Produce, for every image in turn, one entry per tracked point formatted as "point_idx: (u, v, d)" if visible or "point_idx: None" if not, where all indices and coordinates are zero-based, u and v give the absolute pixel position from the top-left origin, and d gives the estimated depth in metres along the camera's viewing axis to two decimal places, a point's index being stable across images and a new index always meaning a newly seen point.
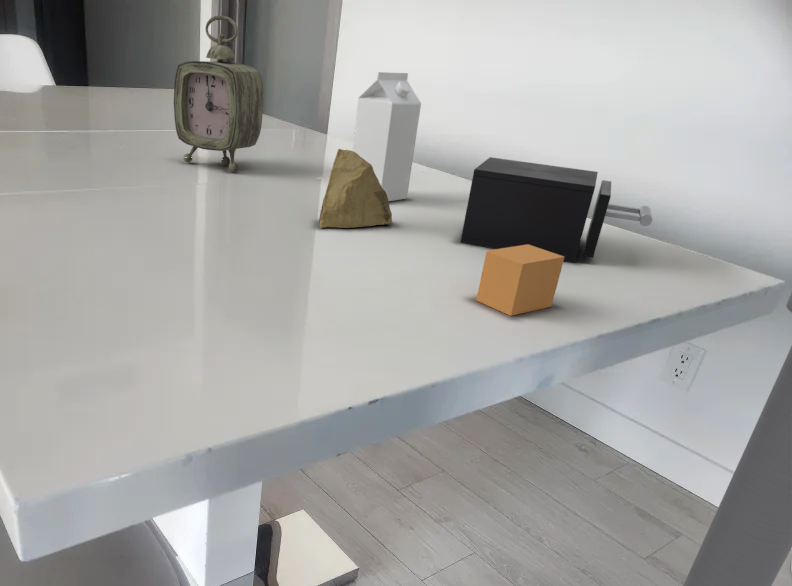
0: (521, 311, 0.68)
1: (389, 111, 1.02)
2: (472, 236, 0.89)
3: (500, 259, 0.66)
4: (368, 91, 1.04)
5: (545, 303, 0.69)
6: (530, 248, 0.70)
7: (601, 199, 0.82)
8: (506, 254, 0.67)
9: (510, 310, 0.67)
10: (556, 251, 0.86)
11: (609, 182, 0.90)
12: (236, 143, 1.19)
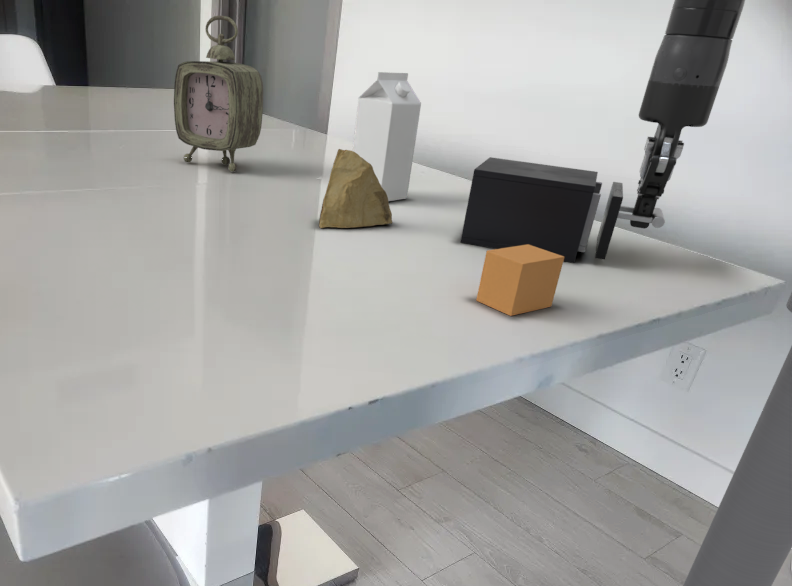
0: (521, 311, 0.68)
1: (389, 111, 1.02)
2: (472, 236, 0.89)
3: (500, 259, 0.66)
4: (368, 91, 1.04)
5: (545, 303, 0.69)
6: (530, 248, 0.70)
7: (613, 201, 0.82)
8: (506, 254, 0.67)
9: (510, 310, 0.67)
10: (556, 251, 0.86)
11: (620, 184, 0.90)
12: (236, 143, 1.19)
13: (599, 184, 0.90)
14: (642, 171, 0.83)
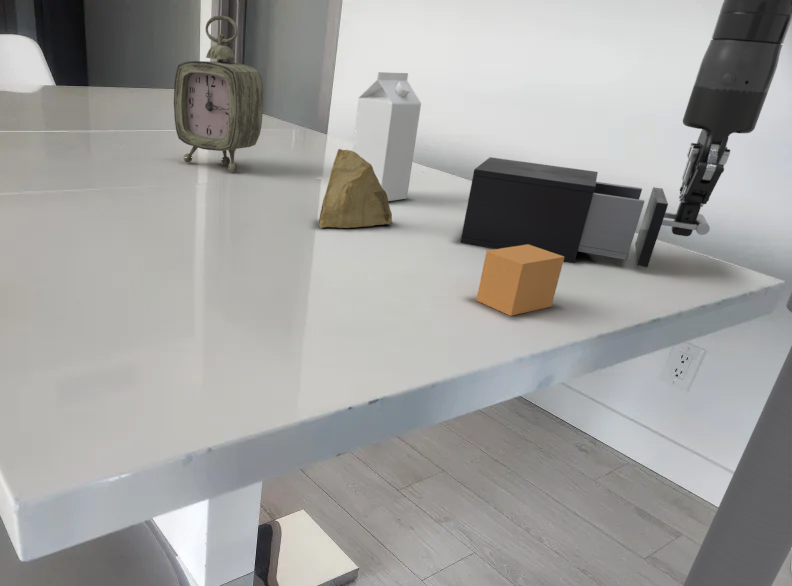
0: (521, 311, 0.68)
1: (389, 111, 1.02)
2: (472, 236, 0.89)
3: (500, 259, 0.66)
4: (368, 91, 1.04)
5: (545, 303, 0.69)
6: (530, 248, 0.70)
7: (658, 208, 0.80)
8: (506, 254, 0.67)
9: (510, 310, 0.67)
10: (556, 251, 0.86)
11: (661, 189, 0.88)
12: (236, 143, 1.19)
13: (639, 190, 0.89)
14: (686, 178, 0.81)
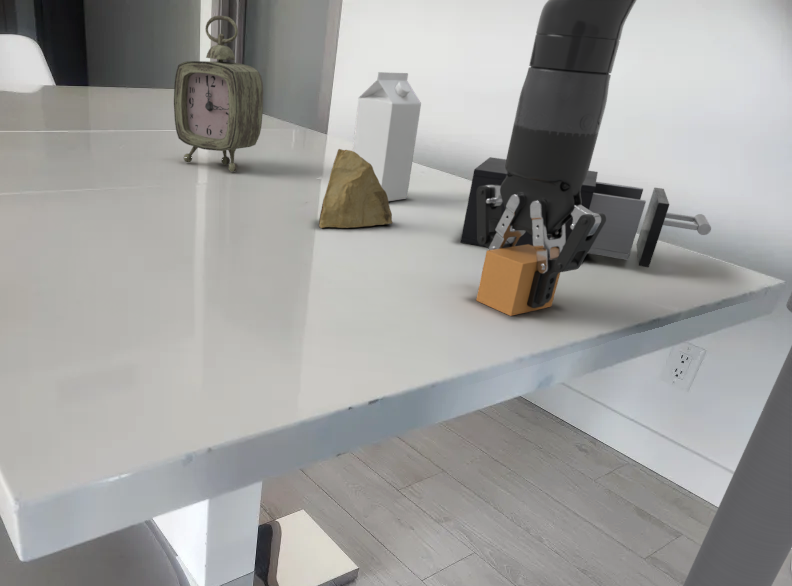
0: (521, 311, 0.68)
1: (389, 111, 1.02)
2: (472, 236, 0.89)
3: (500, 259, 0.66)
4: (368, 91, 1.04)
5: (545, 303, 0.69)
6: (530, 248, 0.70)
7: (659, 208, 0.80)
8: (506, 254, 0.67)
9: (510, 310, 0.67)
10: None
11: (662, 189, 0.88)
12: (236, 143, 1.19)
13: (640, 190, 0.89)
14: (544, 240, 0.64)
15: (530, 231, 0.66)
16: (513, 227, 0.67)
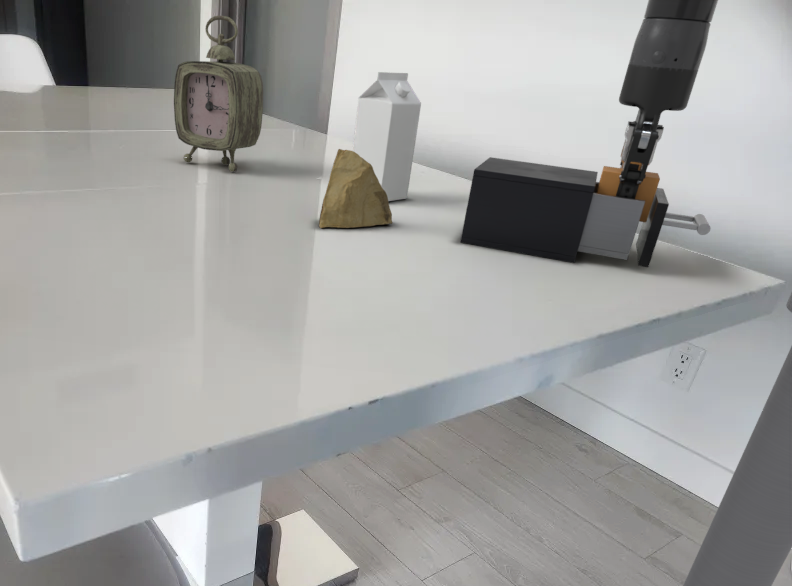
0: None
1: (389, 111, 1.02)
2: (472, 236, 0.89)
3: None
4: (368, 91, 1.04)
5: None
6: (648, 173, 0.85)
7: (659, 208, 0.80)
8: (611, 168, 0.86)
9: None
10: (556, 251, 0.86)
11: (662, 189, 0.88)
12: (236, 143, 1.19)
13: None
14: (624, 154, 0.82)
15: None
16: (628, 149, 0.85)
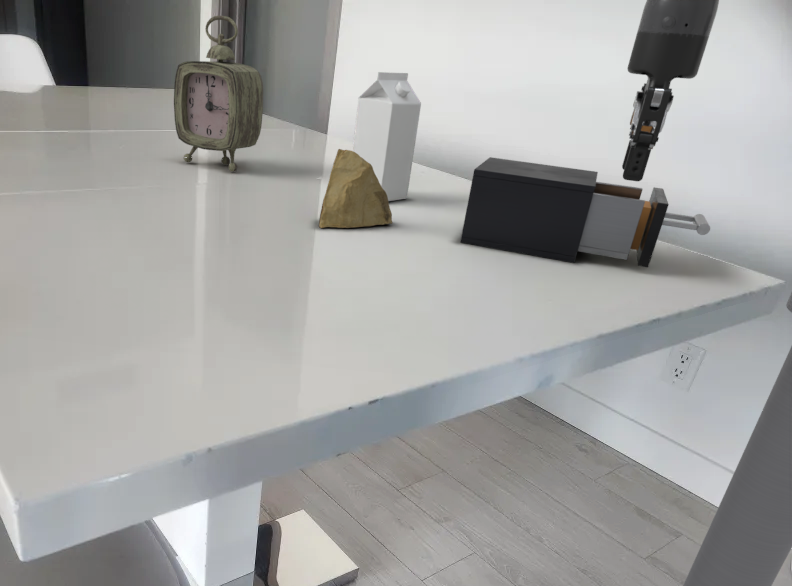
0: None
1: (389, 111, 1.02)
2: (472, 236, 0.89)
3: None
4: (368, 91, 1.04)
5: None
6: None
7: (658, 208, 0.80)
8: None
9: None
10: (556, 251, 0.86)
11: (661, 189, 0.88)
12: (236, 143, 1.19)
13: (639, 190, 0.89)
14: (634, 118, 0.79)
15: None
16: None
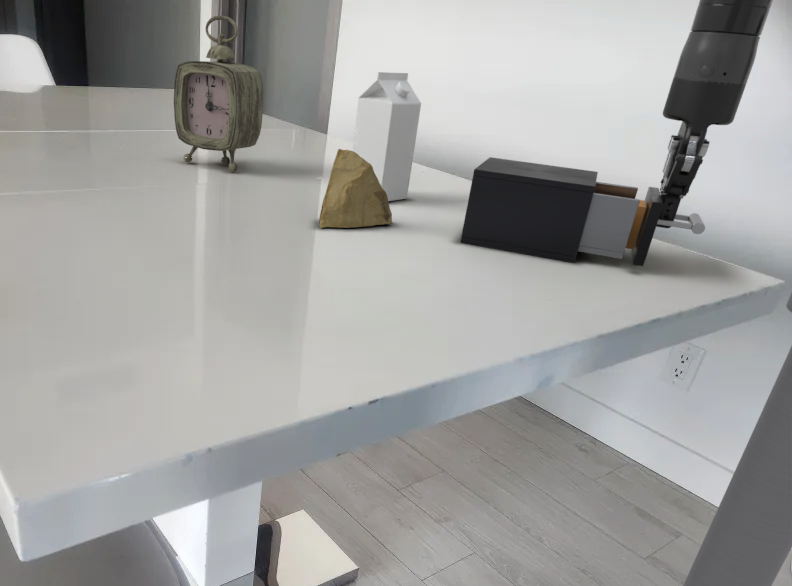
0: None
1: (389, 111, 1.02)
2: (472, 236, 0.89)
3: None
4: (368, 91, 1.04)
5: None
6: None
7: (653, 207, 0.80)
8: None
9: None
10: (556, 251, 0.86)
11: (657, 189, 0.88)
12: (236, 143, 1.19)
13: (635, 189, 0.89)
14: (666, 170, 0.82)
15: (672, 164, 0.82)
16: None
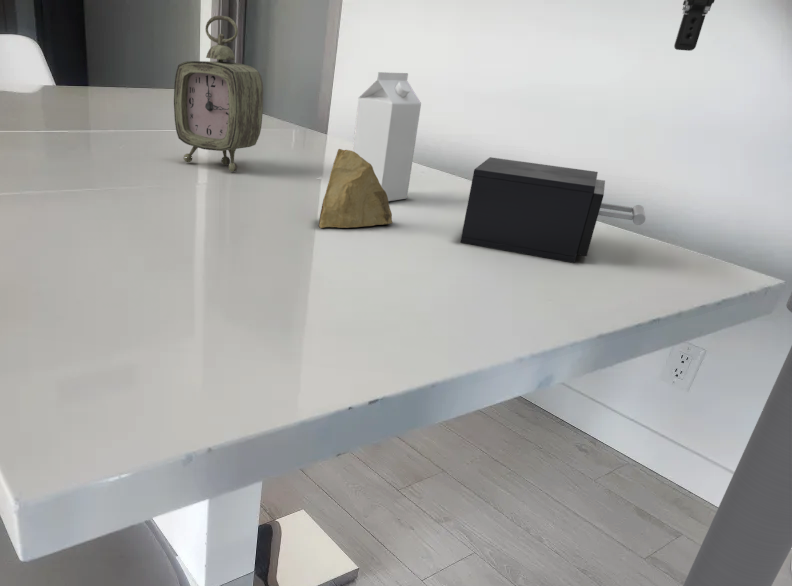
0: None
1: (389, 111, 1.02)
2: (472, 236, 0.89)
3: None
4: (368, 91, 1.04)
5: None
6: None
7: (594, 198, 0.82)
8: None
9: None
10: (556, 251, 0.86)
11: (603, 181, 0.90)
12: (236, 143, 1.19)
13: None
14: None
15: None
16: None
